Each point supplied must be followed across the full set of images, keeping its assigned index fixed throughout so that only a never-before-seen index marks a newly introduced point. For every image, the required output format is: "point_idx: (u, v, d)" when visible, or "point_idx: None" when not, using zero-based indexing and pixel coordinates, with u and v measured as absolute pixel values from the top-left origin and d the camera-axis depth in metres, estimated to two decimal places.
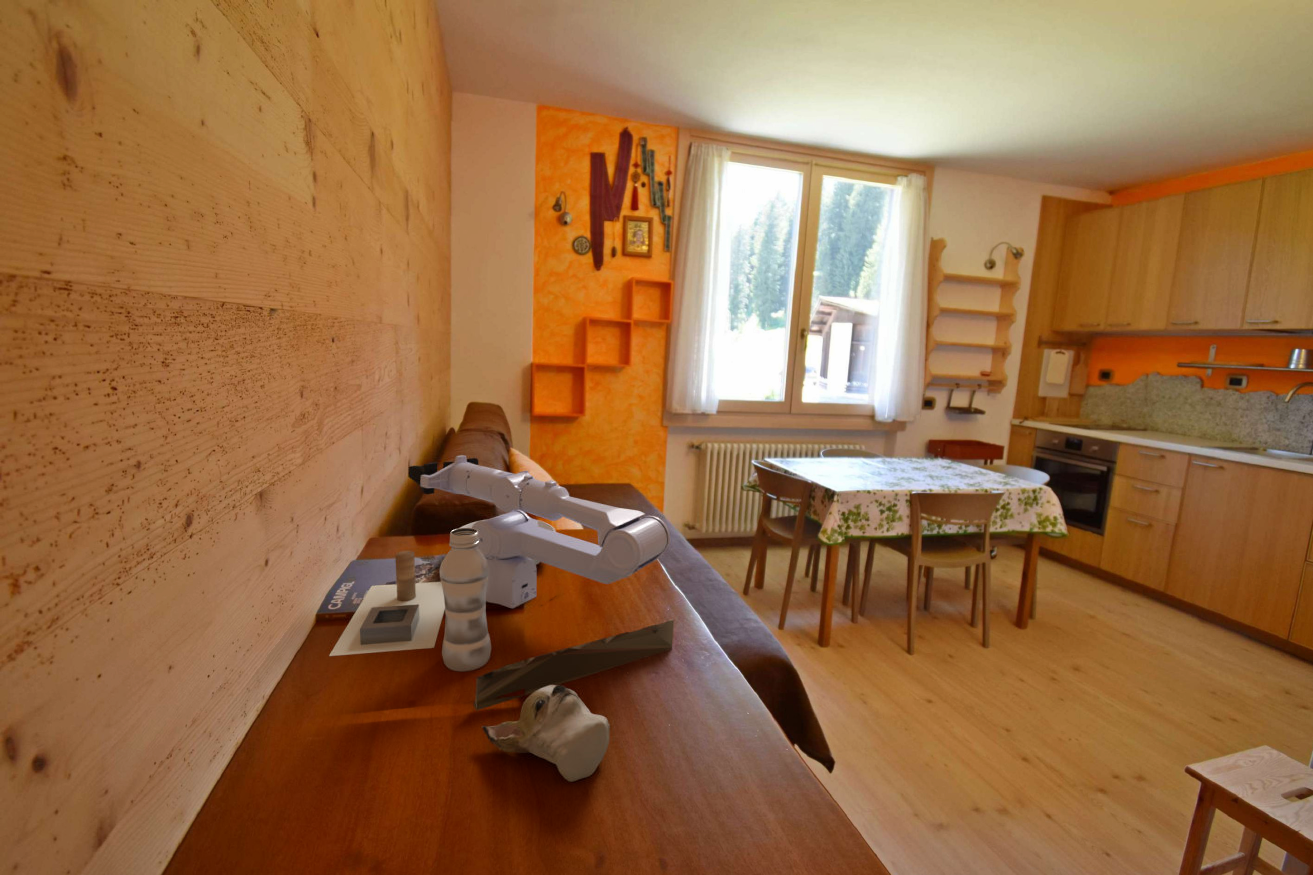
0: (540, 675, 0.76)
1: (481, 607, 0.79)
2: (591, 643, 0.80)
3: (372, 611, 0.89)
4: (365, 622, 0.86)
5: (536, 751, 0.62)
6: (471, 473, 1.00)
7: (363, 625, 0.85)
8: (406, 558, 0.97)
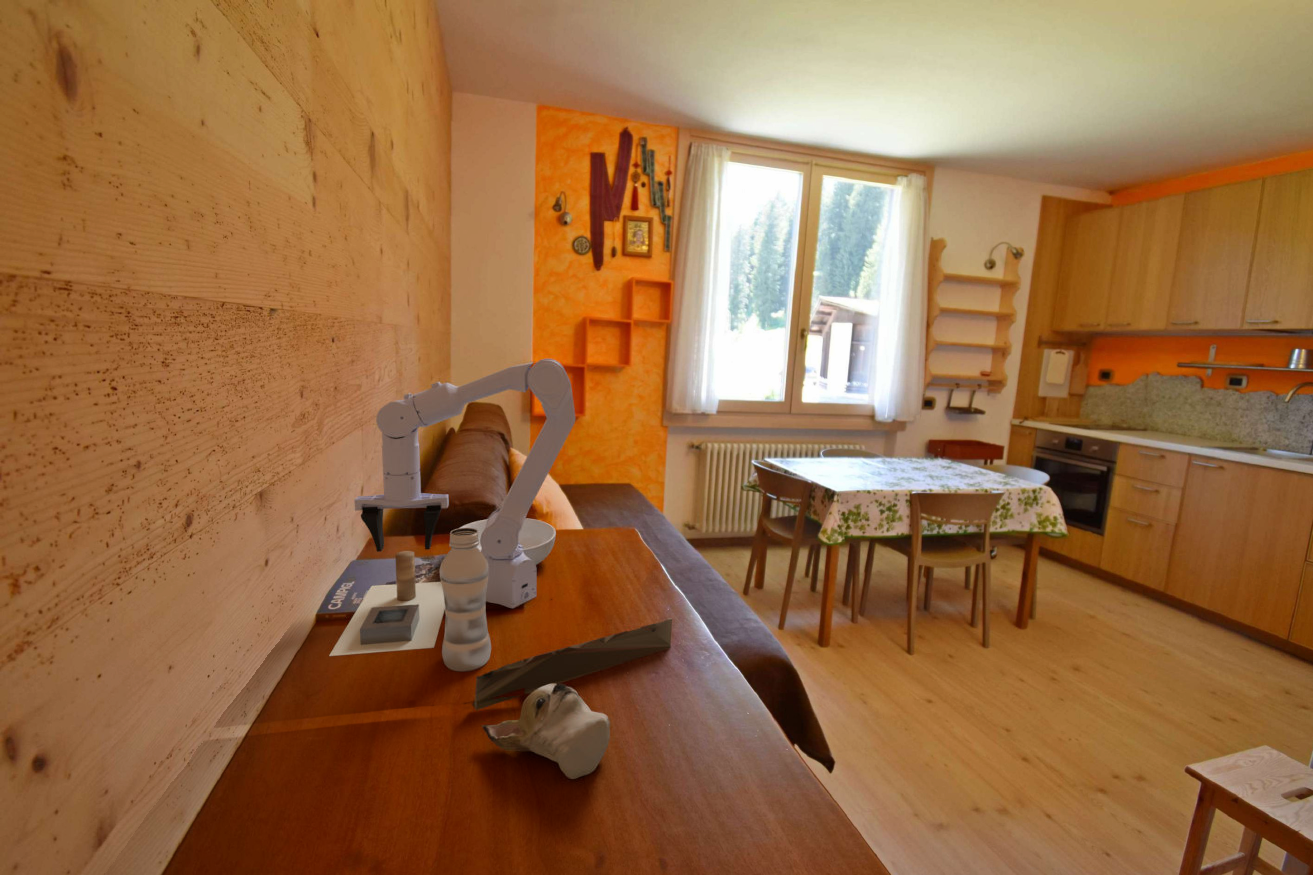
0: (539, 675, 0.76)
1: (481, 607, 0.79)
2: (590, 642, 0.80)
3: (372, 611, 0.89)
4: (365, 622, 0.86)
5: (537, 750, 0.62)
6: (385, 471, 0.94)
7: (363, 625, 0.85)
8: (406, 558, 0.97)
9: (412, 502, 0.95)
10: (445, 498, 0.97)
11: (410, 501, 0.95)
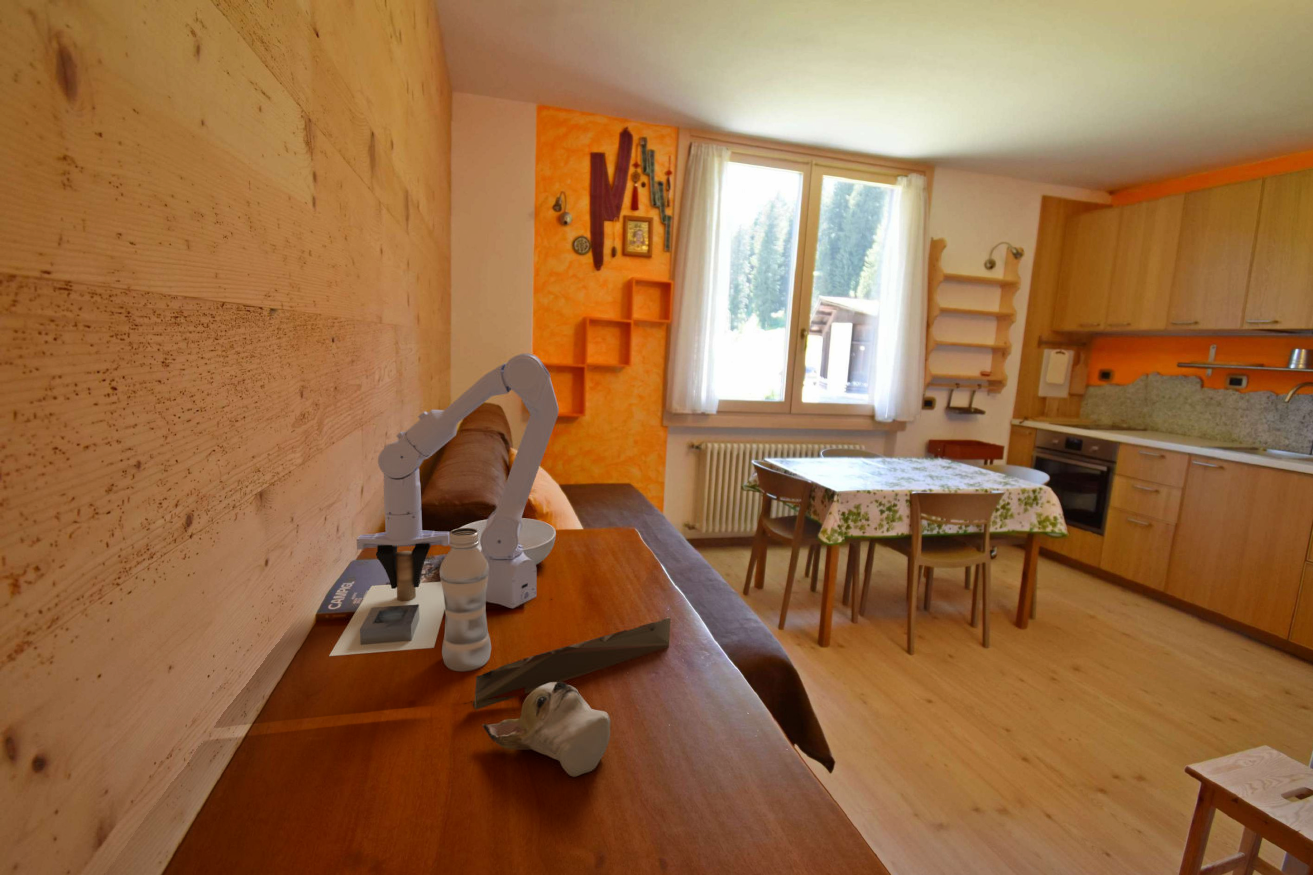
0: (539, 674, 0.76)
1: (481, 607, 0.79)
2: (589, 642, 0.80)
3: (372, 611, 0.89)
4: (365, 622, 0.86)
5: (538, 748, 0.62)
6: (387, 510, 0.95)
7: (363, 625, 0.85)
8: (406, 558, 0.97)
9: (413, 541, 0.96)
10: (446, 536, 0.99)
11: (411, 540, 0.96)
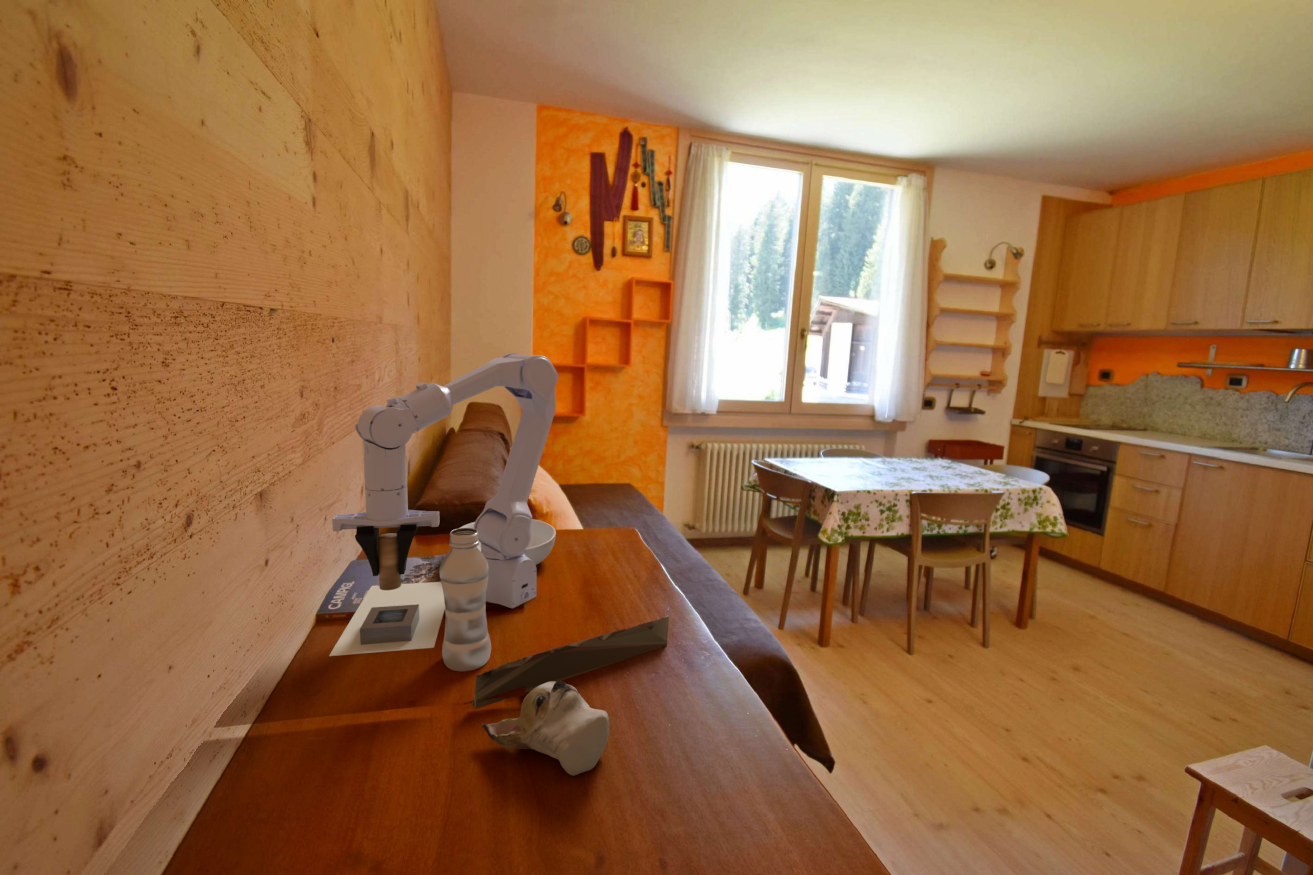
0: (538, 673, 0.77)
1: (481, 607, 0.79)
2: (588, 641, 0.80)
3: (372, 611, 0.89)
4: (365, 622, 0.86)
5: (538, 747, 0.63)
6: (377, 487, 0.82)
7: (363, 625, 0.85)
8: (390, 541, 0.86)
9: (398, 521, 0.84)
10: (436, 516, 0.87)
11: (396, 520, 0.84)
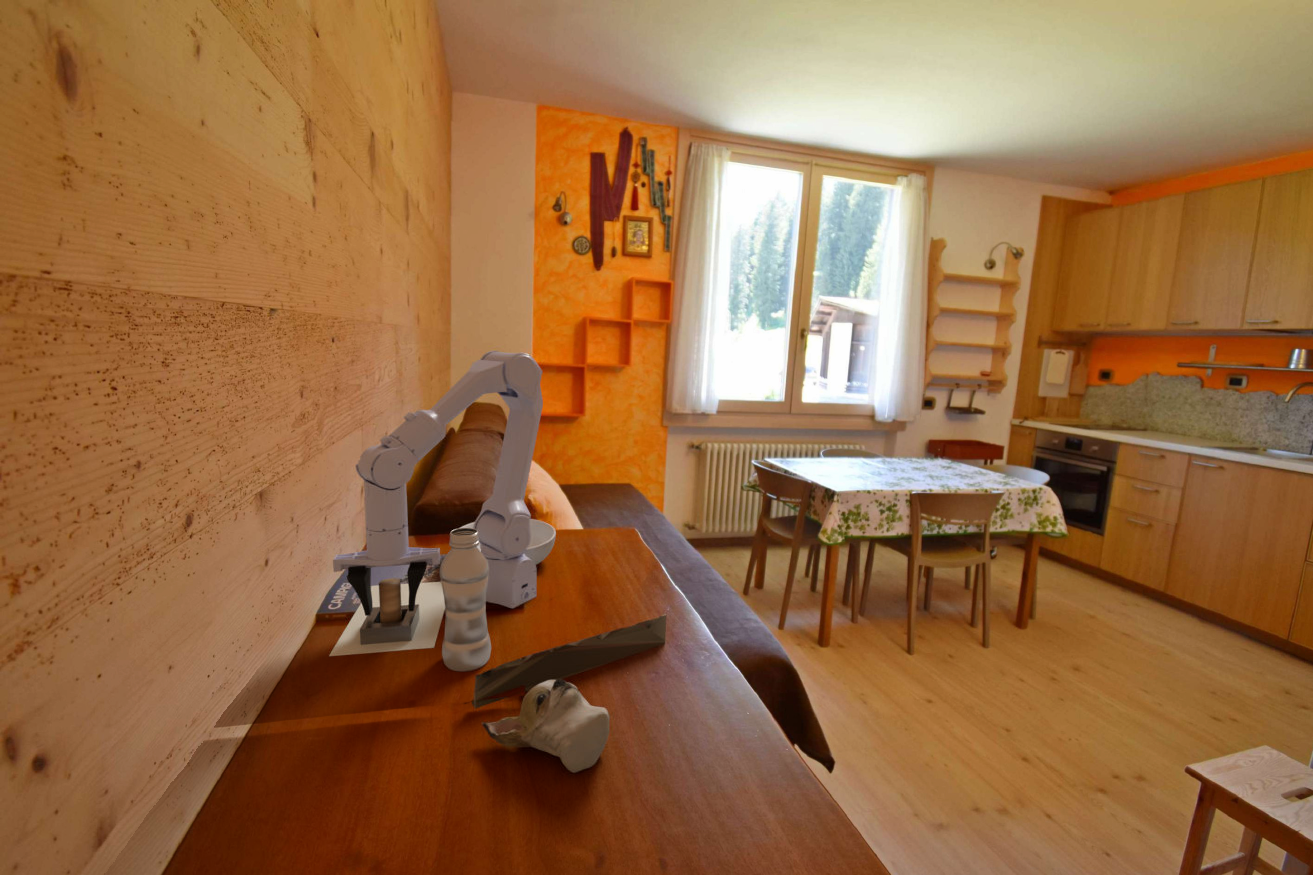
0: (537, 672, 0.77)
1: (481, 607, 0.79)
2: (587, 640, 0.81)
3: (372, 611, 0.89)
4: (365, 622, 0.86)
5: (538, 745, 0.63)
6: (378, 528, 0.83)
7: (363, 625, 0.85)
8: (392, 588, 0.86)
9: (400, 560, 0.84)
10: (437, 553, 0.87)
11: (398, 559, 0.84)
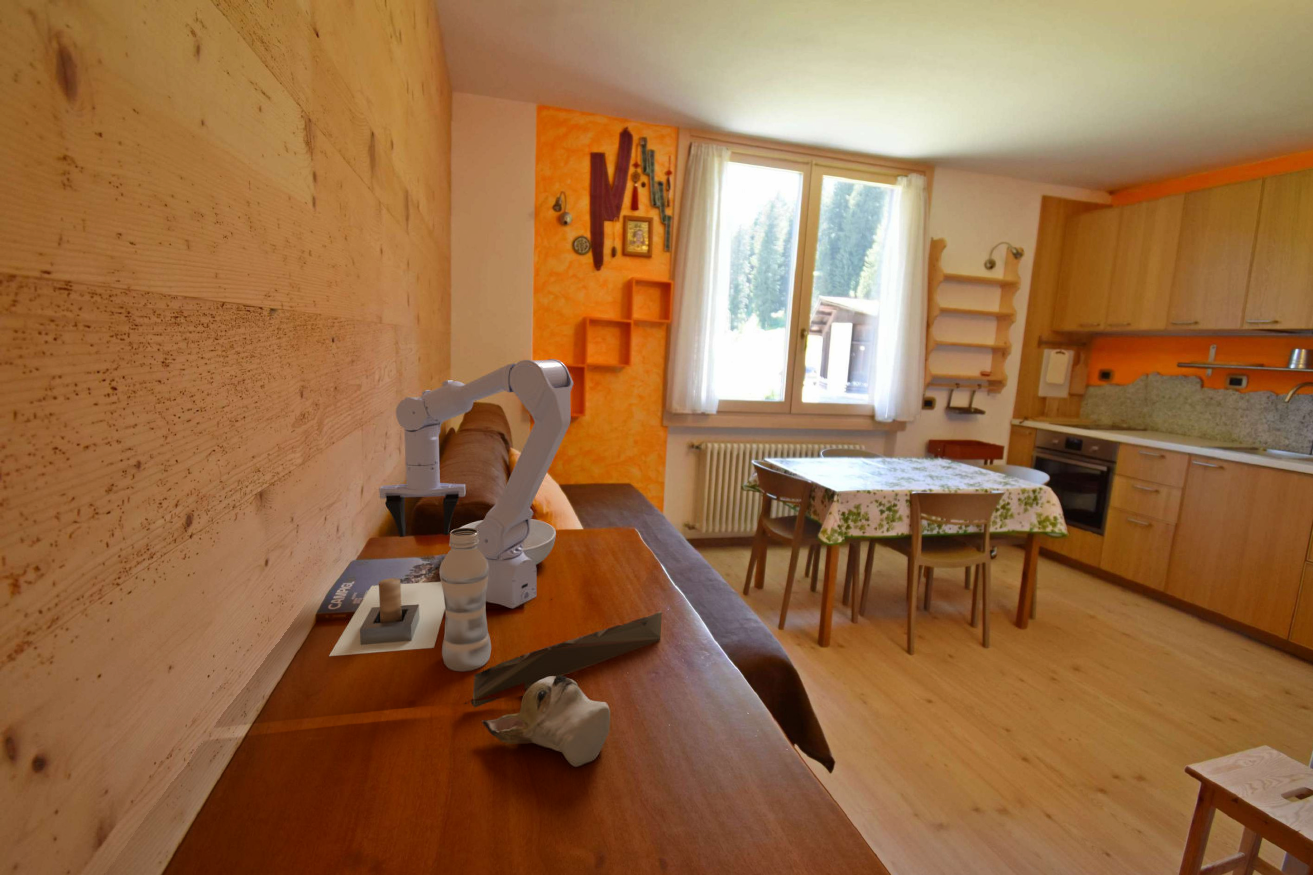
0: (535, 670, 0.77)
1: (481, 607, 0.79)
2: (584, 637, 0.81)
3: (372, 611, 0.89)
4: (365, 622, 0.86)
5: (540, 740, 0.64)
6: (405, 460, 1.02)
7: (363, 625, 0.85)
8: (392, 587, 0.86)
9: (432, 491, 1.03)
10: (462, 487, 1.05)
11: (430, 490, 1.02)
